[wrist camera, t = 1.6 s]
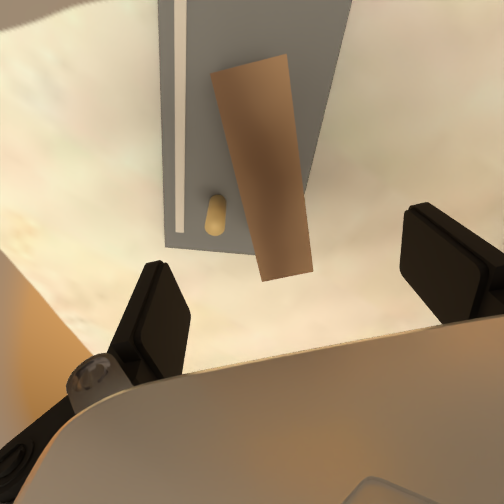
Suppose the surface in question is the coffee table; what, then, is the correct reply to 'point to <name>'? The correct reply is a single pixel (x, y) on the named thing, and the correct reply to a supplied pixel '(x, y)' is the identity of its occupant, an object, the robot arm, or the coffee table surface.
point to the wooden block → (266, 162)
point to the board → (207, 112)
